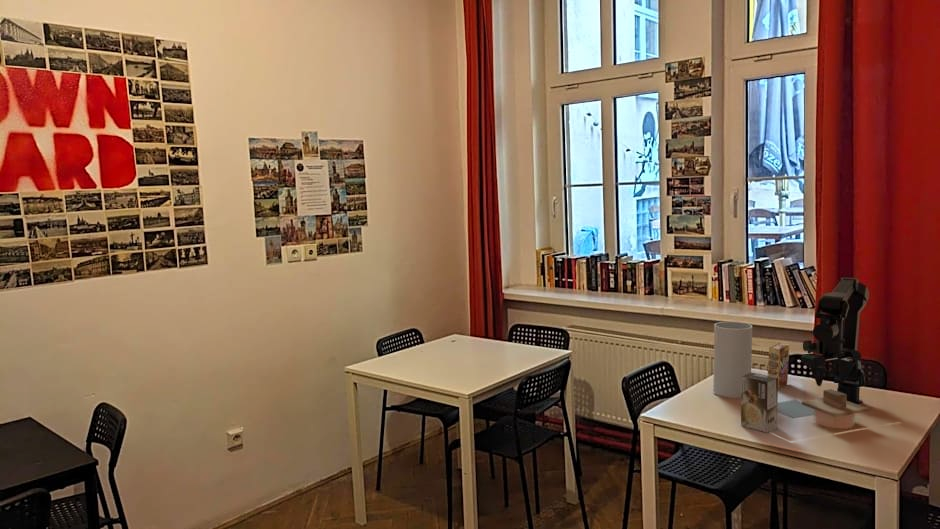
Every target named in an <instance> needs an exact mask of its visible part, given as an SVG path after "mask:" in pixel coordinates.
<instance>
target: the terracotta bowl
mask: <svg viewBox="0 0 940 529" xmlns="http://www.w3.org/2000/svg"><path fill="white" fill-rule="evenodd" d="M813 421H814V422H815V423H816V424H818V425H821V426H823V427H827V428H831V429H832V428H833V429H844V430H845V429H848V428H849V429H850V428H853V427H854V426H855V424H856V423H855V422H856V414H851V415H845V416H839V417H833V416H830V415H828V414H825V413H823V412H820V411H817V410H815V409H814V415H813Z"/></svg>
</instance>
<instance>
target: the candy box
mask: <svg viewBox="0 0 940 529" xmlns="http://www.w3.org/2000/svg"><path fill="white" fill-rule="evenodd" d="M789 354H790V344H789V343H780V342H779V343H775V344H774V345H772V346H769V347H768V363H767V376H771V377H775V378H778V389H779V388H781V387H784V386H787V385H788V379H789V378H788V376H789V374H788V373H789V362H790V360H789V358H790V357H789V356H790V355H789Z"/></svg>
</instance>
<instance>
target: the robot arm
mask: <svg viewBox="0 0 940 529" xmlns="http://www.w3.org/2000/svg"><path fill="white" fill-rule="evenodd" d="M869 298H870V291H869V289H868V286H867V285H866V284H863V283H862V282H860V281H859V279H858V278H855V277H840V279H839V282H838V284H837V285H836V287H835V288H834V289H833V290H832V292H827V293H824V294H823V295H821V297H820V298H819V299H818V303H817V308H816V311H815V317H814V319H819V323H817V324H816V325H815V326H814V327H813V330H812V335H813V337H814V338H815V339H816V340H817V341H815V342H814V341H812V340H810V339H809V340H803V342H802V349H803V351H804V352H807V353H805V354H803V355H801V362H800V363H801V364H803V365H804V366H806V367H808V368H809V369H810V370H811V372H812V374H813V377H814V380H815V383H816V386H818V387H821V386H822V384H823V380H824V376H825V372H826V369H827V367H826V366H825V365H826V364H827V363H826V362H830V361H835V365H834V366H833V370H832V375H833V376H832V378H833V384H837V389H836V391H838V392H841V393H844V394H847V400H846V401H849V402H852V403H855V404H857V405H858V404H862V403H864V401H863V400H862V399H860V388H862V387H866V378H865V377H866V376H865V373H864V370H863V368H862V362H861V360H862V354H861V352H860V351H859V350H858V345H859V344H858V342H859V330H860V317H861V312H862V311H863V310H864V308H865V307H866V306H867V302H868V301H869Z"/></svg>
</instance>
